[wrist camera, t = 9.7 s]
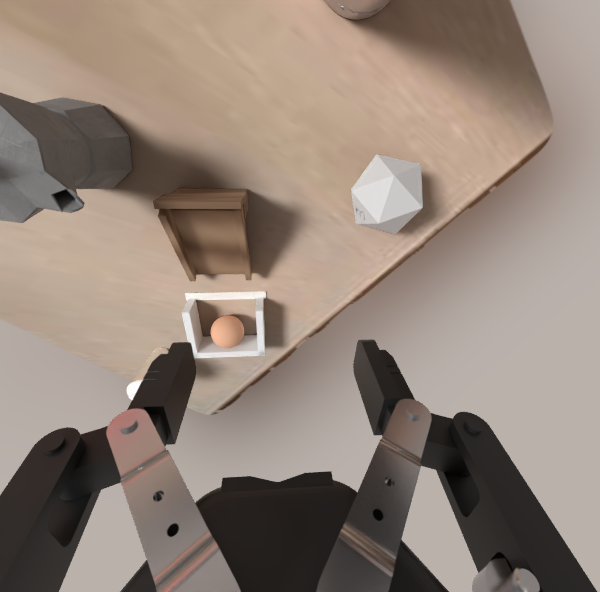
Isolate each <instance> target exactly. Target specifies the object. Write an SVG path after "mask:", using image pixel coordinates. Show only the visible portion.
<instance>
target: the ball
mask: <svg viewBox="0 0 600 592" xmlns="http://www.w3.org/2000/svg"><path fill="white" fill-rule="evenodd" d="M243 336H244V326H243V324H242V322H241V321H240V320H239V319H238V318H236V317H234V316H229V315H227V316H222V317H220V318H218V319H217V320H216V321H215V322H214V323H213V325H212V328H211V337H212V340H213V341H214V343H215V344H216V345H218V346H219V347H222V348H232V347H235V346H236V345H238V344H239V343H240V342H241V340H242V339H243Z"/></svg>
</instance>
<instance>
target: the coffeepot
mask: <svg viewBox="0 0 600 592" xmlns="http://www.w3.org/2000/svg"><path fill="white" fill-rule="evenodd" d="M131 171H132V152H131V147H130V143H129V135H128V134H127V133H126V132H125V131H124V130H123V129H122V127H121V126H120V125H119V124H118V122H117V121H116V120H115V119H114V118H113V117H112V116H111V115H110V114H109V113H108V112H107V111H106V110H105V109H104V108H103V107H102V106H101V105H100V104H95V103H90V102H84V101H79V100H74V99H68V98H58V99H53V100H48V101H43V102H37V103H30V102H27V101H24V100H21V99H18V98H15V97H12V96H9V95H6V94H3V93H0V220H2V221H10V222H18V223H23V222H25V221H26V220H28V219H29V218H31V217H32V216H34V215H35V214H37V213H38V212H40V211H42V210H43V209H49V210H55V211H61V212H63V211H64V212H69V213H72V212H75V211H78V210H80V209H82V208H83V206H84V202H83V201H82V200H81V199H80V198H79V197H78V195H77V192H76V189H110V188H114V187H115V186H116V185H117V184H118V183H119V182H120V181H121V180H123V179H124V178H125V176H126V175H127V174H128V173H129V172H131Z"/></svg>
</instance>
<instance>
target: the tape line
mask: <svg viewBox="0 0 600 592" xmlns="http://www.w3.org/2000/svg"><path fill="white" fill-rule="evenodd" d="M185 296H186V300H188V299H192V298H196V300H224V299H257V297H263V299H266V291H263V292H212V293H185Z"/></svg>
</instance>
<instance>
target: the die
mask: <svg viewBox="0 0 600 592" xmlns="http://www.w3.org/2000/svg"><path fill="white" fill-rule="evenodd" d="M351 194H352V200H353V207H354V213H355V220H356V224H358V225H362V226H366V227H370V228H373V229H377V230H381V231H385V232H389V233H392V234H396V233H397V232H398V231H399V230H400V229H401V228H402V227H403V226H404V225H405V224H406V223H408V222H409V221H410V220H411V219H412V218H413V217H414V216H415V215H416V214H417V213H418V212H419V211H420V210H421V209H422V208H423V200H422V177H421V164H418V163H414V162H409V161H405V160H400V159H396V158H391V157H387V156H383V155H378V154H376V156H375V157H374V158H373V160H372V161H371V163H370V164H369V165H368V167H367V168H366V170H365V171H364V172H363V174H362V175H361V177H360V178H359V179H358V181H357V182H356V184H355V185H354V186H353V188H352V189H351Z"/></svg>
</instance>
